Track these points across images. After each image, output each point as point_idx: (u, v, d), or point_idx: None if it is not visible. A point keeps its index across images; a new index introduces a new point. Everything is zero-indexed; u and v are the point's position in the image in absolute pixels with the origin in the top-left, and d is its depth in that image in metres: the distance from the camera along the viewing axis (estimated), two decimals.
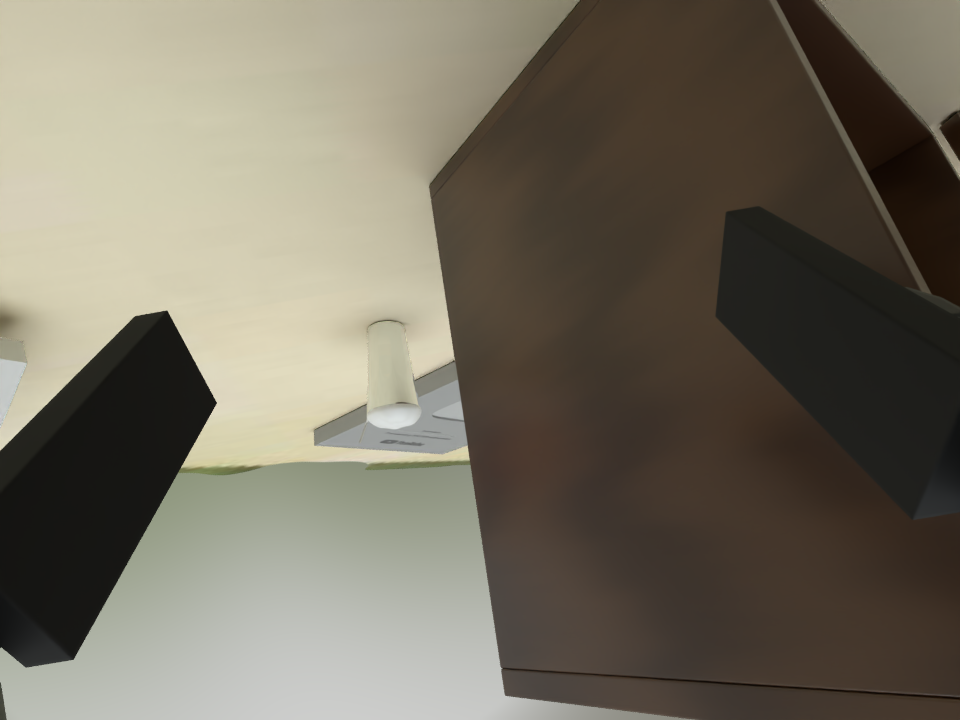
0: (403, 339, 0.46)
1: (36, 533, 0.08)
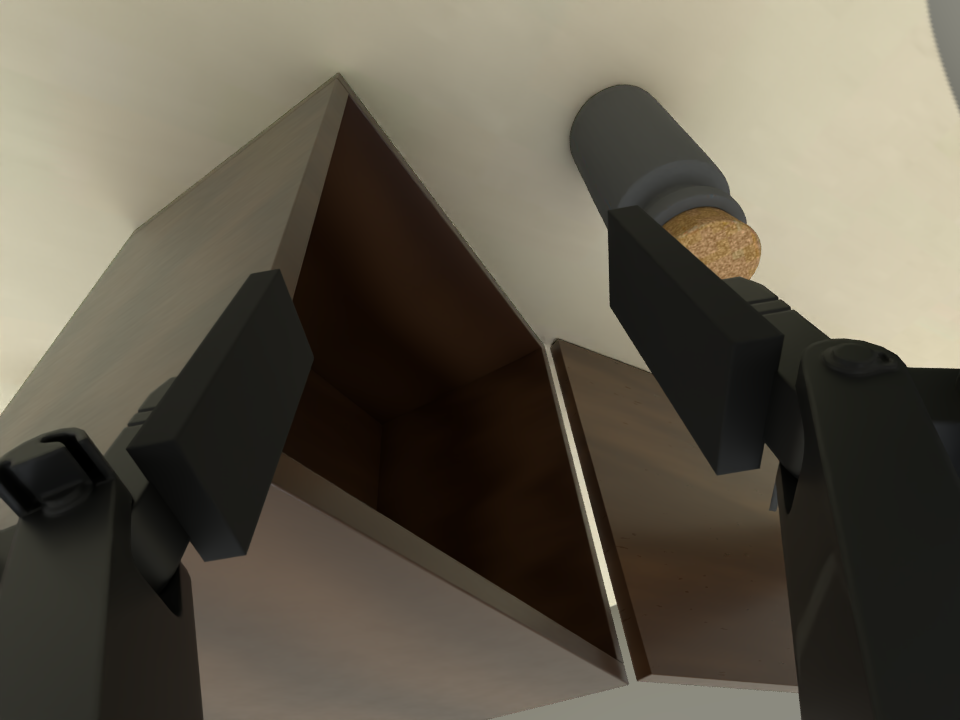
0: None
1: (218, 442, 0.09)
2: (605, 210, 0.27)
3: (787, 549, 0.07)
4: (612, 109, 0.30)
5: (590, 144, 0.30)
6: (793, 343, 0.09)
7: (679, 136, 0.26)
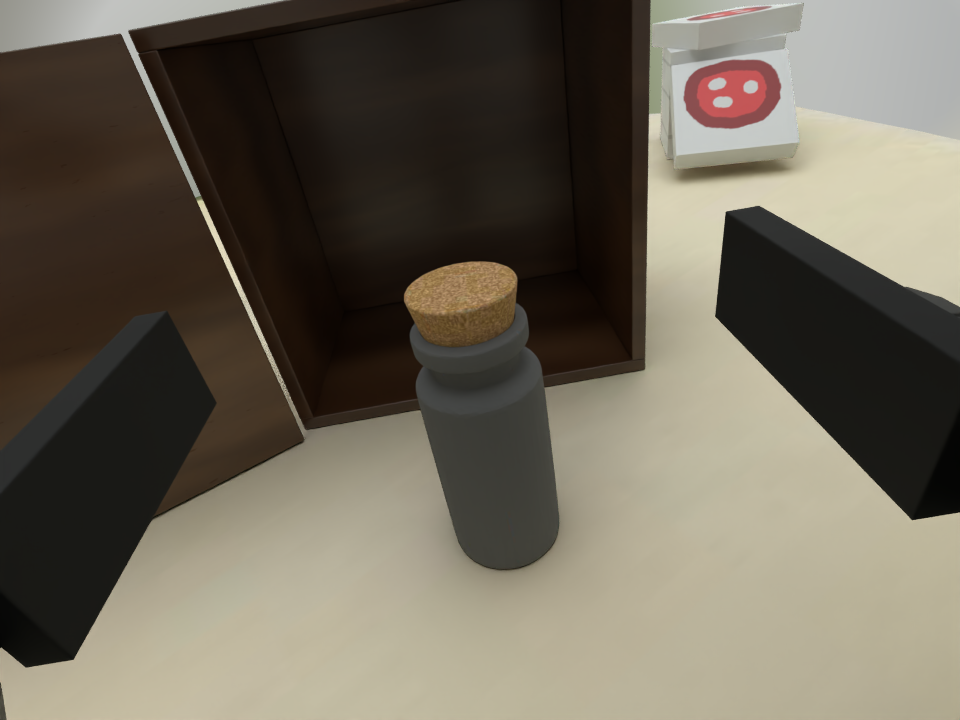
0: None
1: (36, 532, 0.08)
2: None
3: None
4: None
5: None
6: None
7: (536, 439, 0.24)
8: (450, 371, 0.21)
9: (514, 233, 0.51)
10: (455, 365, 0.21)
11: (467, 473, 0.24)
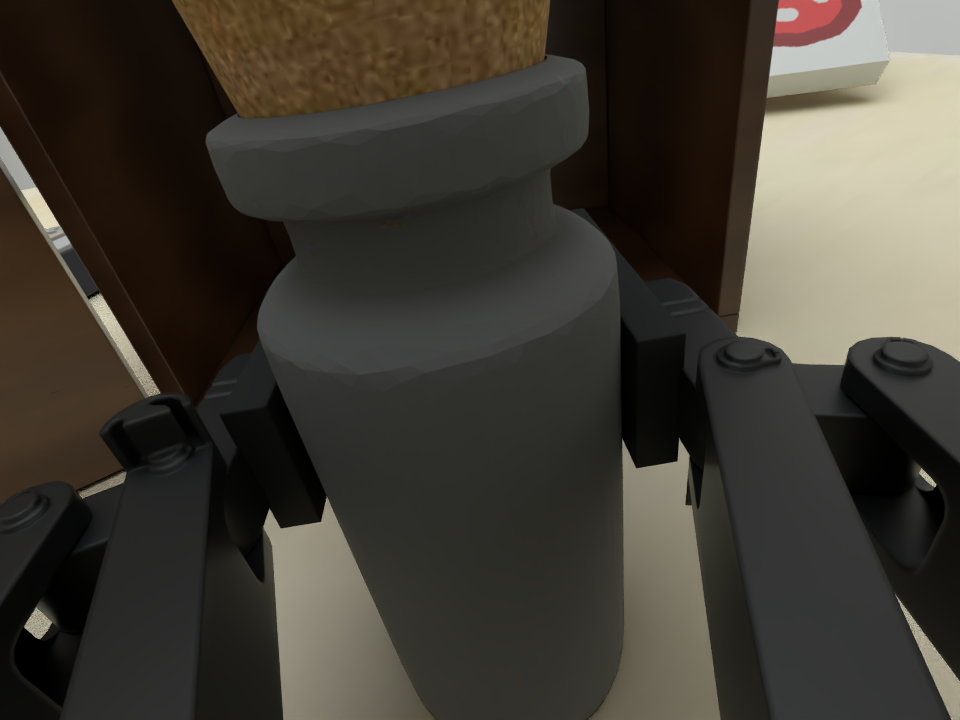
0: None
1: None
2: None
3: (700, 543, 0.08)
4: None
5: None
6: (703, 341, 0.09)
7: (600, 456, 0.08)
8: (311, 208, 0.06)
9: None
10: (326, 183, 0.06)
11: (403, 551, 0.08)
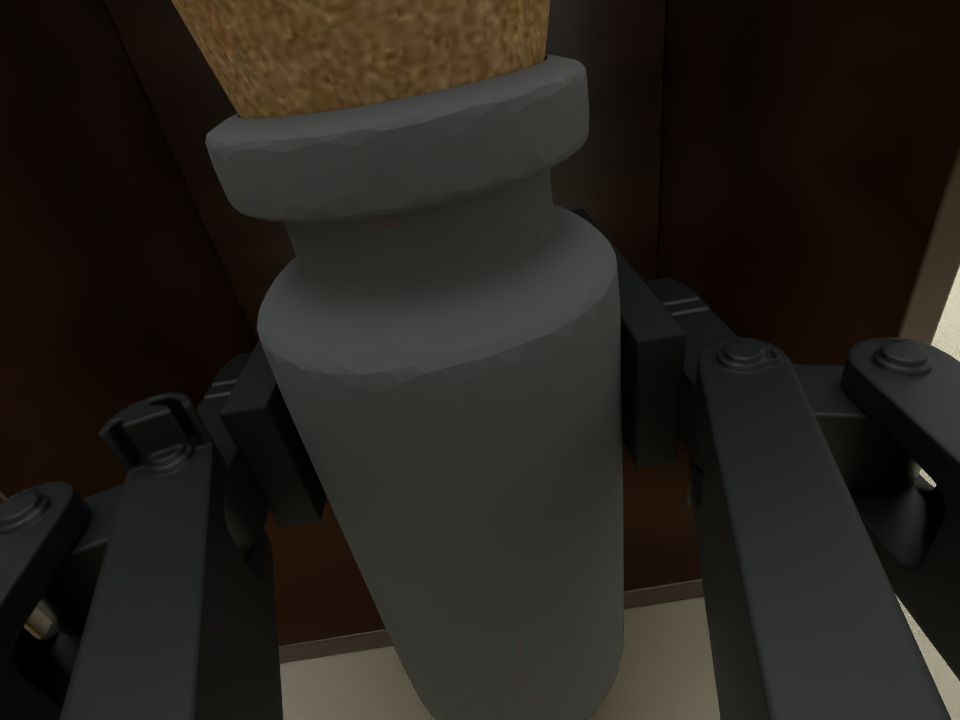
0: None
1: None
2: None
3: (700, 542, 0.08)
4: None
5: None
6: (703, 341, 0.09)
7: (600, 456, 0.08)
8: (311, 208, 0.06)
9: None
10: (326, 183, 0.06)
11: (403, 552, 0.08)
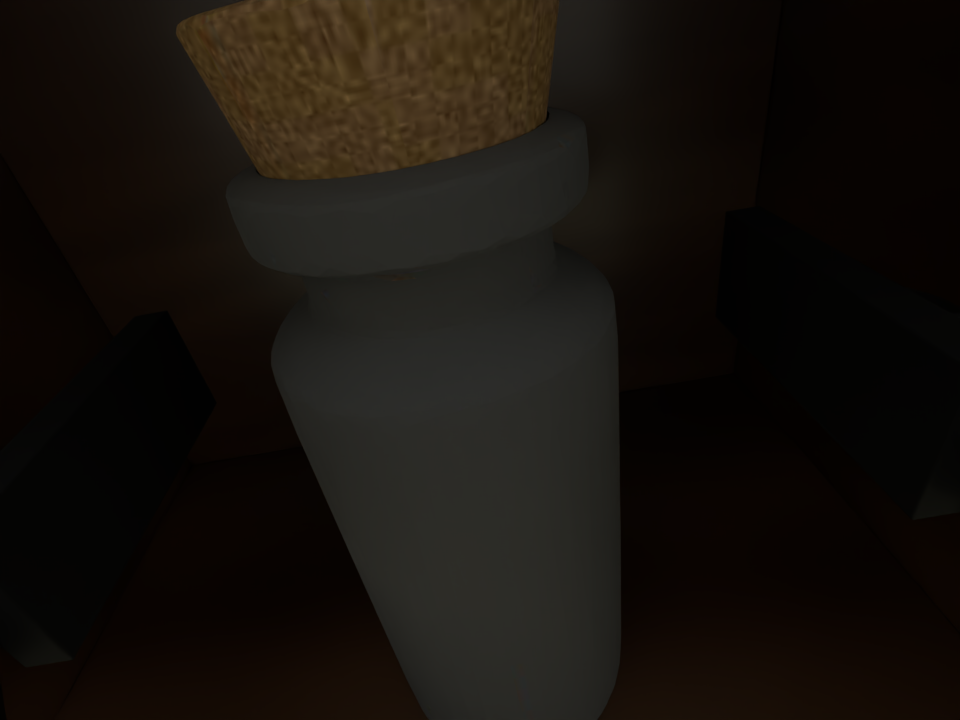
0: None
1: (36, 532, 0.08)
2: None
3: None
4: None
5: None
6: None
7: (598, 486, 0.09)
8: (327, 266, 0.06)
9: None
10: (342, 244, 0.06)
11: (410, 578, 0.09)
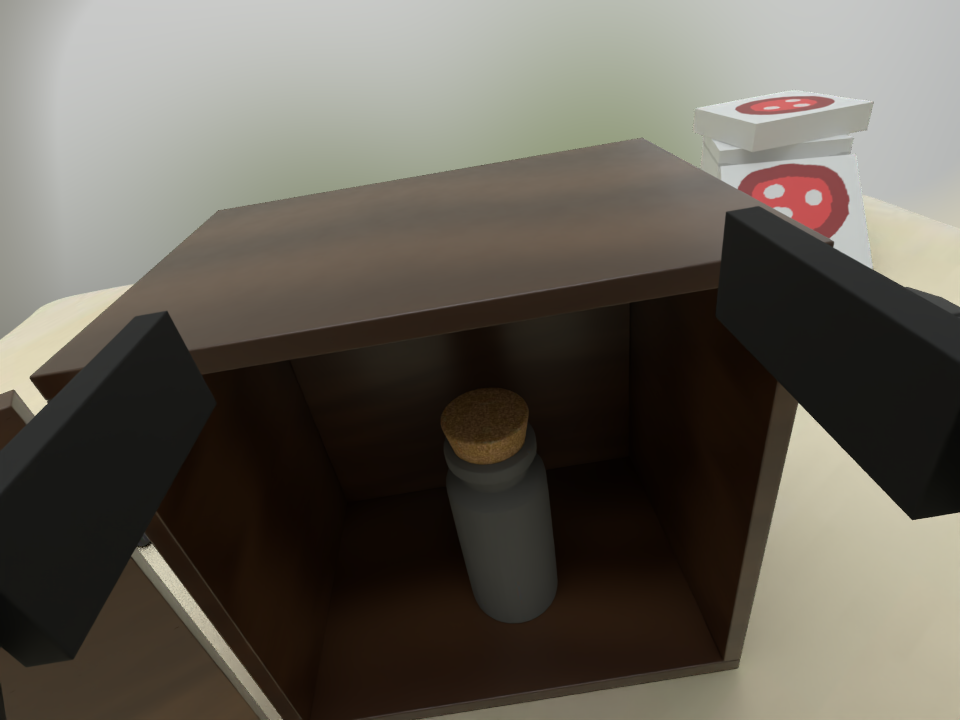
0: None
1: (36, 532, 0.08)
2: None
3: None
4: None
5: None
6: None
7: (541, 527, 0.30)
8: (476, 482, 0.28)
9: (556, 423, 0.42)
10: (480, 478, 0.27)
11: (486, 553, 0.30)
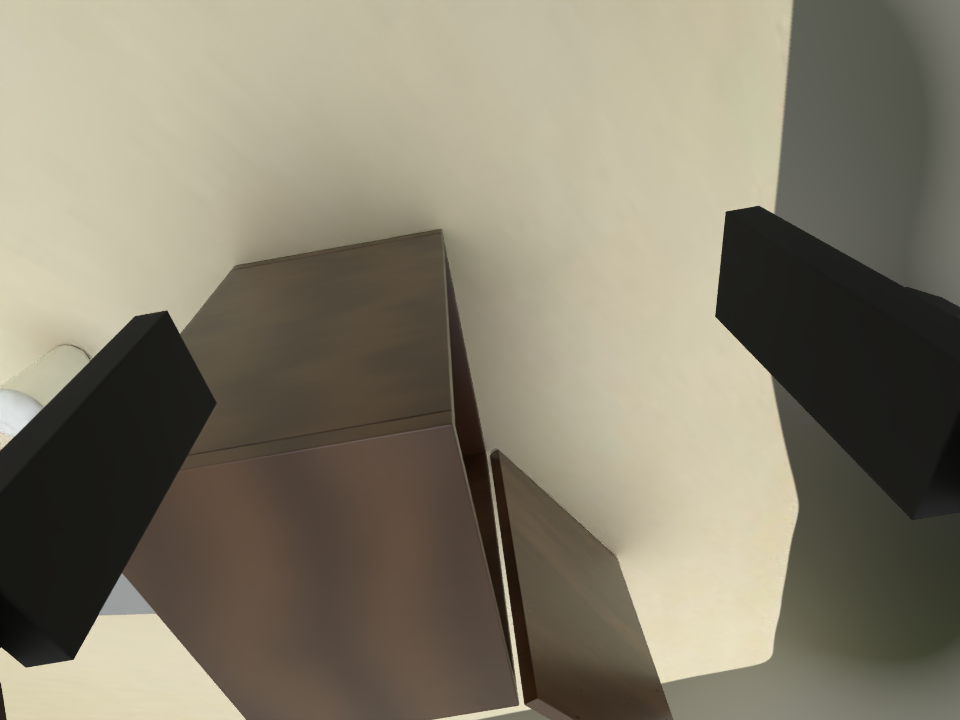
0: None
1: (37, 532, 0.08)
2: None
3: None
4: None
5: None
6: None
7: None
8: None
9: None
10: None
11: None
